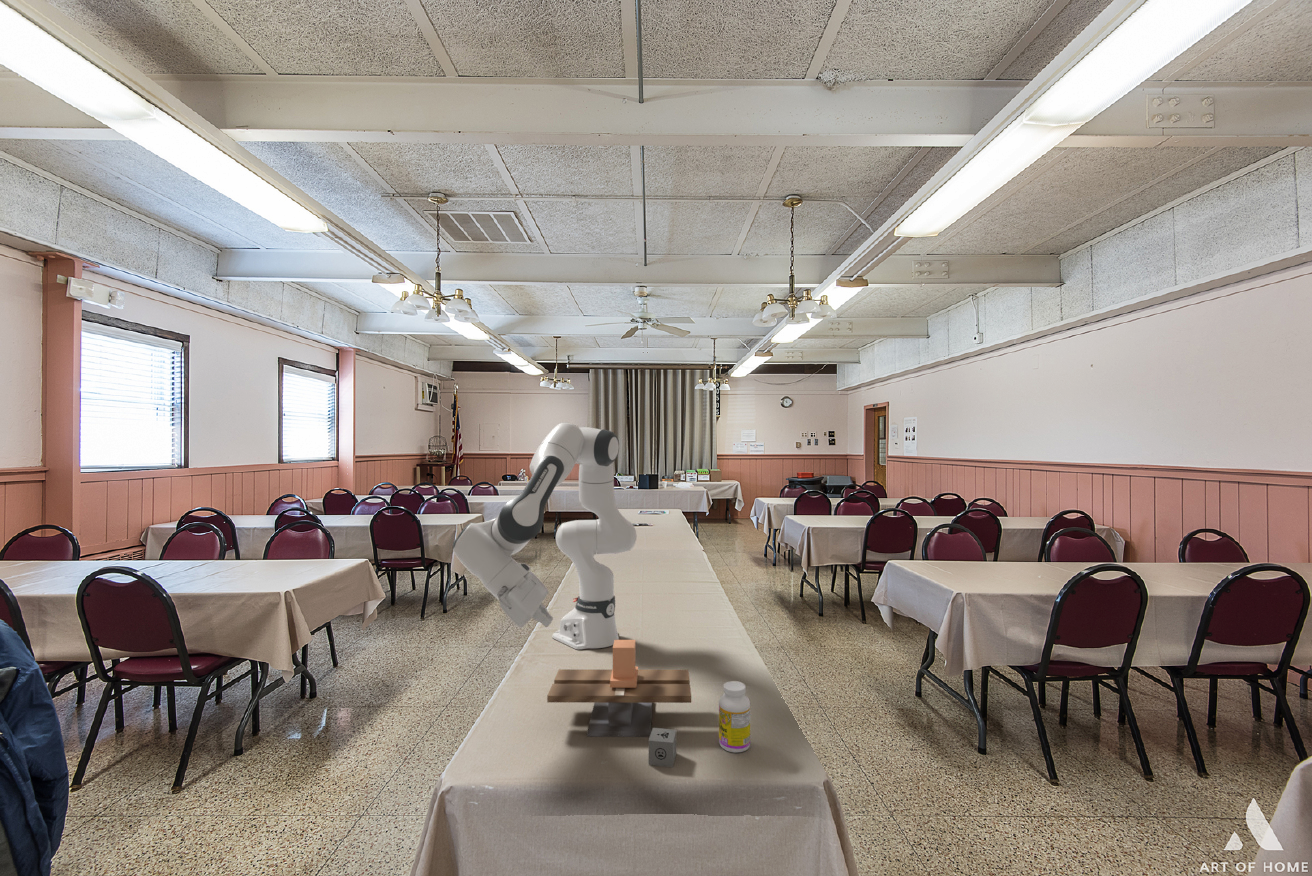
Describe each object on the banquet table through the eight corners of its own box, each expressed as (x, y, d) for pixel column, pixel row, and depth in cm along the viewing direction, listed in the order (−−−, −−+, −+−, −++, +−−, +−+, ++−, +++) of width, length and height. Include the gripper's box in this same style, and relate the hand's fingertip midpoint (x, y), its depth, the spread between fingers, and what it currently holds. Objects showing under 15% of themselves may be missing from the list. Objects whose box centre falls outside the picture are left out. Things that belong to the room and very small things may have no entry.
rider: (610, 693, 128) (609, 650, 128) (613, 678, 136) (613, 637, 136) (636, 693, 128) (636, 650, 128) (638, 678, 136) (637, 637, 136)
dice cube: (673, 767, 113) (673, 742, 113) (648, 765, 114) (648, 740, 114) (676, 753, 118) (676, 729, 118) (652, 751, 119) (652, 727, 119)
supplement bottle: (716, 737, 124) (716, 679, 124) (746, 736, 124) (745, 678, 124) (722, 755, 117) (722, 693, 117) (753, 753, 118) (753, 691, 117)
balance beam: (546, 736, 124) (546, 696, 124) (559, 701, 140) (559, 667, 140) (691, 736, 124) (691, 697, 124) (688, 702, 140) (688, 667, 140)
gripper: (505, 584, 122) (550, 629, 122) (528, 561, 142) (566, 600, 142) (484, 605, 122) (530, 650, 122) (510, 579, 143) (549, 617, 143)
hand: (550, 623), depth 132 cm, fingers closed
